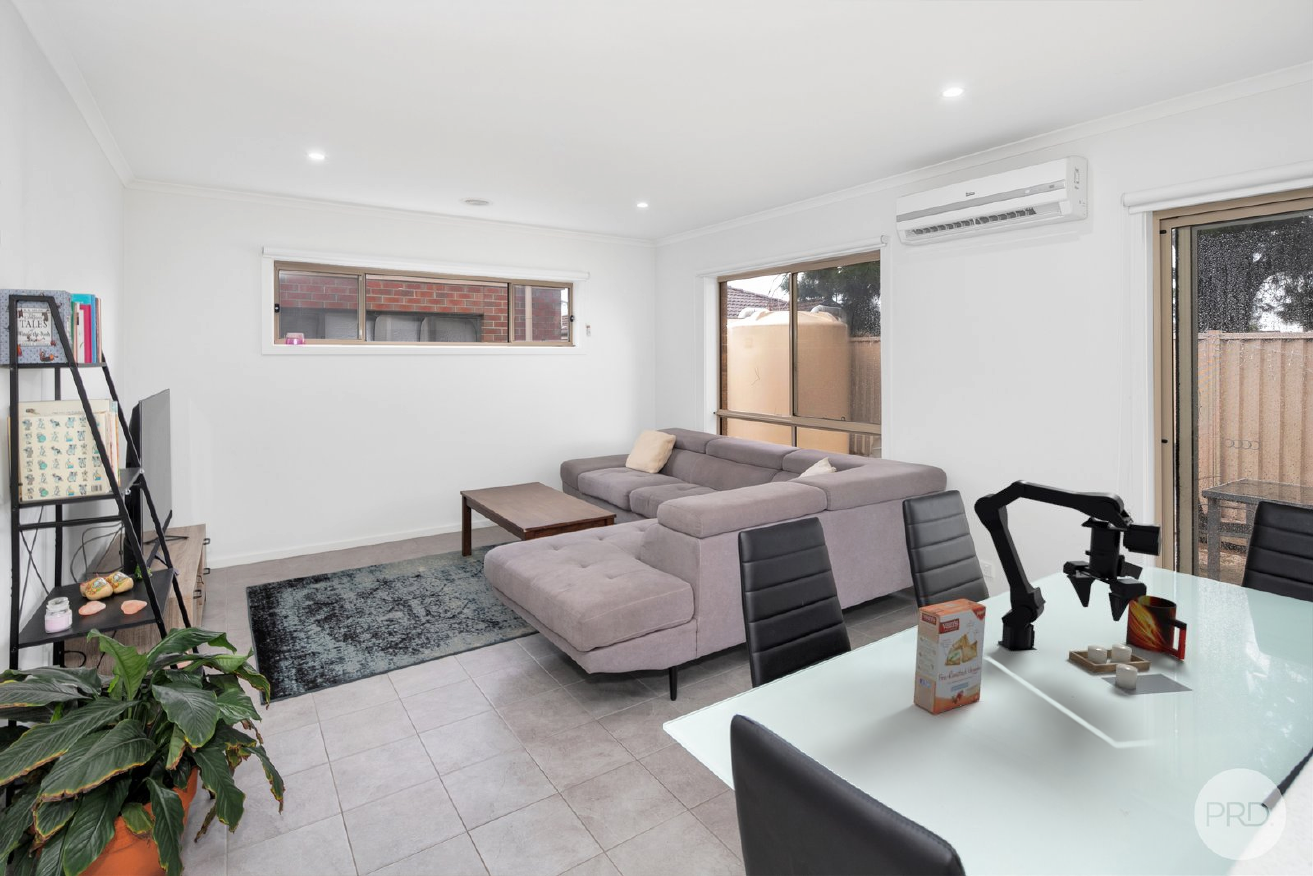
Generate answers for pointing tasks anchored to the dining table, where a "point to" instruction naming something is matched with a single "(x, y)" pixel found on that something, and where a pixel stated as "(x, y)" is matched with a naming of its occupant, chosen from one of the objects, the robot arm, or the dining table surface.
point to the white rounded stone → (1126, 676)
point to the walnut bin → (1110, 667)
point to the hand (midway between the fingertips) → (1100, 613)
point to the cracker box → (949, 654)
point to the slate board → (1151, 684)
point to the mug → (1155, 626)
